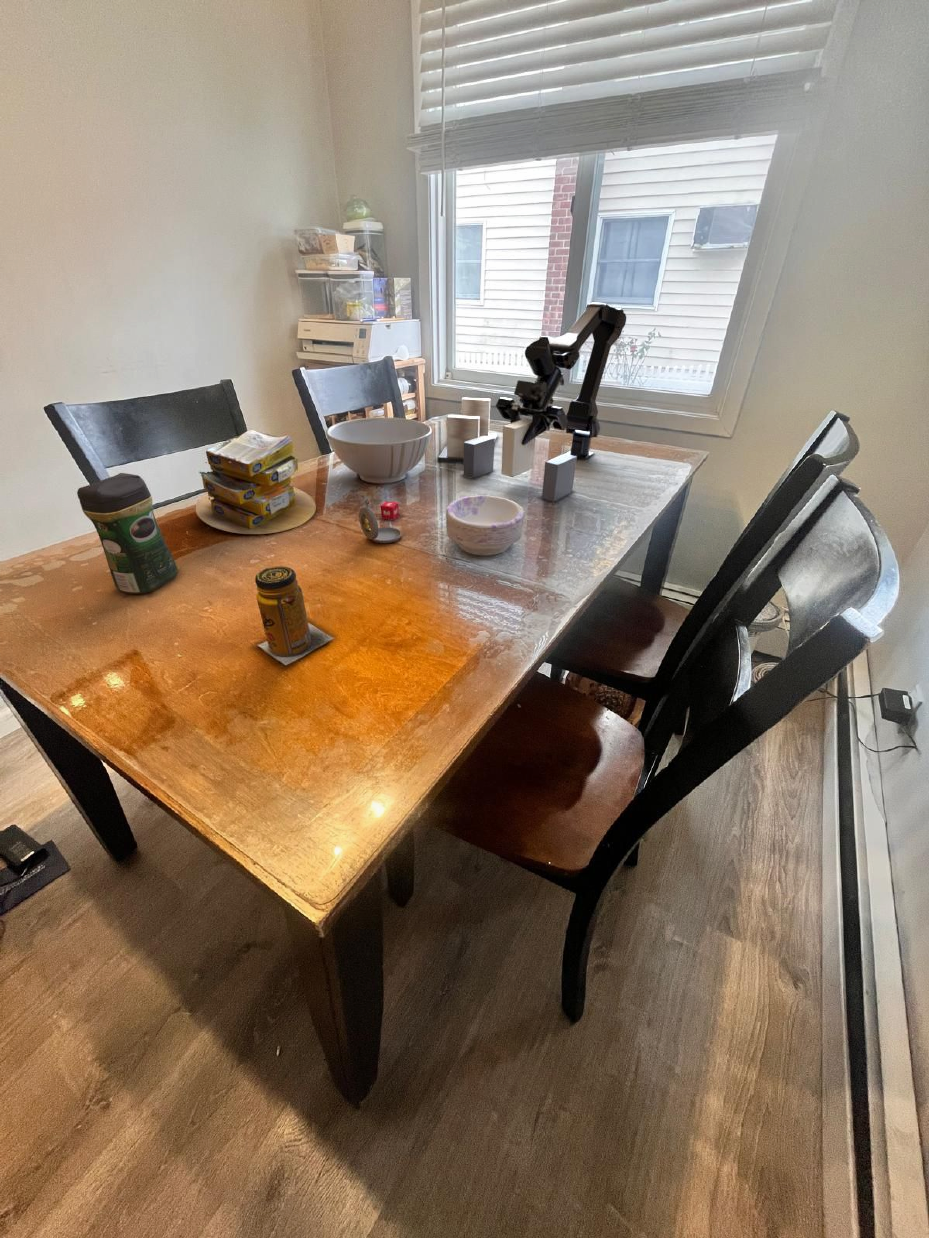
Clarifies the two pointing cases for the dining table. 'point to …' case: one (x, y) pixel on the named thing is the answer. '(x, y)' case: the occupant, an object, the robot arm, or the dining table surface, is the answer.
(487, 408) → the book rack
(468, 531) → the cream and purple bowl
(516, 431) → the white book
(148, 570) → the coffee jar
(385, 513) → the dice
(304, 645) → the condiment
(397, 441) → the decorative bowl
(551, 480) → the gray bookends
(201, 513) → the stacked yellow boxes
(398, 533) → the pocket watch
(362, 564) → the dining table surface
